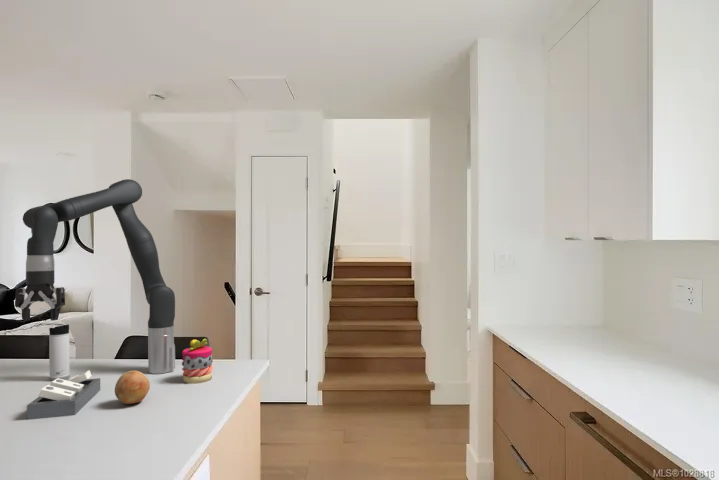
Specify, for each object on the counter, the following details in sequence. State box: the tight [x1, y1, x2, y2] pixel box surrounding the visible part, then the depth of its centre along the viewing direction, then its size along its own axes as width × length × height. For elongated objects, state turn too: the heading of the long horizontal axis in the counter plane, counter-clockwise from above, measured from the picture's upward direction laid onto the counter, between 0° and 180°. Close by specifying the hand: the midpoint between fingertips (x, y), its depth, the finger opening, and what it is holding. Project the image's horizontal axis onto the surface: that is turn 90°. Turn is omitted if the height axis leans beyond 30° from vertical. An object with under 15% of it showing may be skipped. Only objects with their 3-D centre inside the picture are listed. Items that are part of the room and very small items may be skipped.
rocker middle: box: [49, 378, 84, 392], centre depth 142 cm, size 8×4×2 cm, turn 104°
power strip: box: [26, 377, 101, 420], centre depth 146 cm, size 12×33×4 cm, turn 14°
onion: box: [114, 370, 151, 405], centre depth 141 cm, size 10×10×10 cm
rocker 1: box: [38, 384, 76, 401], centre depth 135 cm, size 8×4×2 cm, turn 104°
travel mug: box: [48, 324, 71, 382], centre depth 170 cm, size 6×7×20 cm
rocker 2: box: [65, 369, 93, 383], centre depth 150 cm, size 8×4×2 cm, turn 105°
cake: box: [181, 338, 214, 385], centre depth 166 cm, size 10×11×15 cm
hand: (40, 320), depth 146 cm, fingers open, 8 cm apart
